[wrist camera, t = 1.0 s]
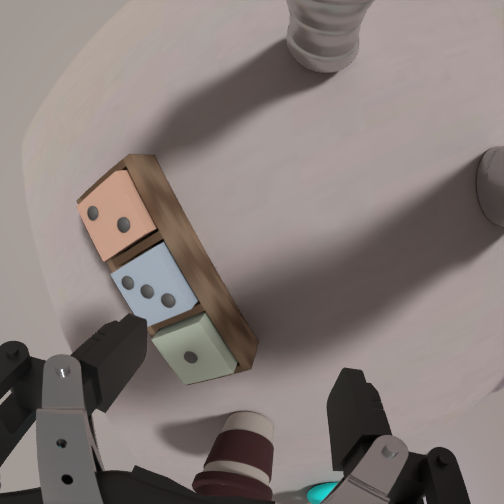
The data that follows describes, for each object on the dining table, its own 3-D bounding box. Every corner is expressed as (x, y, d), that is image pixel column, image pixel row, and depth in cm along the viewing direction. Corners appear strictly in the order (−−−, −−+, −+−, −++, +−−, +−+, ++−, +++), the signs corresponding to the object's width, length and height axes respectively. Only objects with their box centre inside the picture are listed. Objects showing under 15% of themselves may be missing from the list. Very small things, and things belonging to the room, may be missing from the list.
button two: (162, 226, 26) (145, 233, 23) (120, 253, 28) (102, 262, 25) (133, 169, 25) (114, 171, 22) (94, 202, 27) (75, 206, 24)
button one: (239, 355, 29) (233, 374, 26) (193, 369, 31) (183, 386, 28) (209, 307, 28) (198, 322, 25) (163, 325, 30) (150, 340, 27)
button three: (202, 295, 28) (190, 310, 25) (156, 315, 29) (142, 329, 26) (169, 238, 26) (153, 247, 23) (126, 264, 28) (109, 274, 25)
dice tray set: (258, 342, 32) (251, 368, 27) (200, 360, 34) (187, 385, 30) (154, 155, 28) (128, 154, 23) (103, 195, 30) (76, 200, 26)
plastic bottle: (358, 80, 22) (435, -47, 3) (290, 79, 23) (257, -66, 5) (350, 28, 20) (388, -110, 2) (285, 27, 22) (249, -118, 3)
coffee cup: (270, 447, 38) (254, 522, 24) (212, 430, 39) (184, 503, 25) (293, 415, 35) (281, 504, 21) (226, 395, 36) (193, 482, 21)
